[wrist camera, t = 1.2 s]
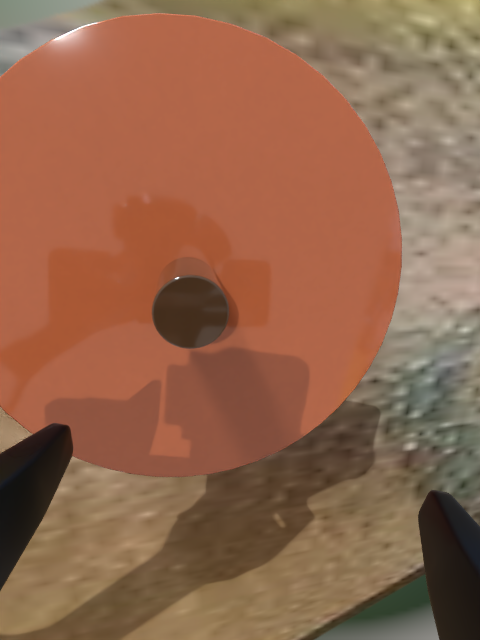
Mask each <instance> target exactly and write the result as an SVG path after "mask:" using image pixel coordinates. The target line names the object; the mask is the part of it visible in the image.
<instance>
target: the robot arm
mask: <svg viewBox="0 0 480 640" xmlns="http://www.w3.org/2000/svg"><path fill="white" fill-rule="evenodd" d="M72 454H73V441H72V435H71V429H70V427H69V426H68V425H65V424H59V423H52V424H50V425H48V426H46V427H45V428H43V429H41V430H40V431H38V432H36V433H34V434H33V435H31V436H29V437H28V438H26V439H24V440H23V441H21V442H19V443H18V444H16V445H14V446H12V447H11V448H9V449H7V450H6V451H4V452H2V453H1V454H0V590H1V589H2V587H3V585H4V584H5V582H6V580H7V579H8V577H9V575H10V573H11V572H12V570H13V568H14V567H15V565H16V563H17V562H18V560H19V558H20V556H21V555H22V553H23V551H24V550H25V548H26V546H27V545H28V543H29V541H30V539H31V538H32V536H33V534H34V533H35V531H36V529H37V528H38V526H39V524H40V522H41V521H42V519H43V517H44V515H45V513H46V511H47V509H48V507H49V505H50V503H51V501H52V499H53V496H54V494H55V492H56V490H57V488H58V486H59V483H60V481H61V479H62V477H63V475H64V473H65V470H66V468H67V466H68V464H69V462H70V459H71V457H72ZM418 522H419V529H420V537H421V544H422V552H423V559H424V567H425V574H426V581H427V586H428V593H429V597H430V602H431V606H432V610H433V614H434V619H435V623H436V627H437V631H438V635H439V639H440V640H480V526H479V525H478V524H477V523H476V522H475V521H474V520H473V518H472V517H471V516H470V515H469V514H468V513H467V512H466V511H465V510H464V508H463V507H462V506H461V505H460V504H459V503H458V502H457V501H456V500H455V498H454V497H453V496H452V495H450V494H449V493H447V492H442V491H436V490H431V491H430V492H429V493H428V495H427V497H426V499H425V501H424V503H423V505H422V507H421V509H420V511H419V515H418Z"/></svg>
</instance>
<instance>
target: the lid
mask: <svg viewBox="0 0 480 640" xmlns="http://www.w3.org/2000/svg"><path fill="white" fill-rule="evenodd" d="M401 267H402V236H401V227H400V219H399V210H398V206H397V202H396V198H395V194H394V190H393V186H392V182H391V179H390V176H389V174H388V171H387V169H386V166H385V163H384V161H383V158H382V156H381V153H380V151H379V149H378V148H377V146H376V144H375V142H374V140H373V139H372V137H371V135H370V133H369V131H368V129H367V128H366V126H365V124H364V123H363V122H362V120H361V119H360V118H359V116H358V115H357V113H356V112H355V111H354V109H353V108H352V107H351V105H350V104H349V103H348V101H347V100H346V99H345V98H344V97H343V96H342V95H341V94H340V93H339V92H338V90H337V89H336V88H335V87H334V86H333V85H332V84H331V83H330V82H329V81H328V80H327V79H326V78H325V77H324V76H323V75H322V74H320V73H319V72H318V71H317V70H315V69H314V68H313V67H311V66H310V65H309V64H307V63H306V62H305V61H304V60H302V59H301V58H300V57H298V56H297V55H296V54H294V53H292V52H291V51H289V50H287V49H285V48H284V47H282V46H280V45H278V44H277V43H275V42H273V41H271V40H270V39H268V38H266V37H264V36H261V35H259V34H256V33H254V32H251V31H249V30H246V29H243V28H241V27H238V26H236V25H233V24H230V23H226V22H221V21H217V20H212V19H208V18H203V17H199V16H192V15H177V14H163V13H155V14H143V15H132V16H121V17H117V18H113V19H109V20H105V21H101V22H97V23H93V24H89V25H85V26H83V27H80V28H78V29H76V30H73V31H71V32H68V33H66V34H64V35H61V36H59V37H57V38H54V39H52V40H50V41H49V42H47V43H45V44H44V45H42V46H41V47H39V48H37V49H36V50H34V51H33V52H31V53H30V54H28V55H26V56H25V57H23V58H22V59H20V60H19V61H18V62H17V63H15V64H14V65H13V66H12V67H11V68H10V69H9V70H8V71H6V72H5V73H4V74H3V75H2V76H1V77H0V407H1V408H2V409H3V410H4V411H5V412H6V413H7V414H8V415H10V416H11V417H12V418H13V419H15V420H16V421H17V422H18V423H20V424H21V425H22V426H23V427H24V428H26V429H27V430H28V431H29V432H31V433H33V434H34V433H36V432H38V431H40V430H41V429H43V428H45V427H46V426H48V425H50V424H52V423H59V424H65V425H68V426H69V427H70V429H71V435H72V441H73V454H72V456H74V457H76V458H78V459H81V460H84V461H86V462H89V463H92V464H95V465H98V466H101V467H104V468H108V469H112V470H116V471H121V472H125V473H130V474H137V475H146V476H155V477H186V476H196V475H206V474H212V473H217V472H221V471H226V470H231V469H235V468H238V467H241V466H244V465H247V464H250V463H253V462H256V461H258V460H261V459H263V458H265V457H267V456H270V455H272V454H274V453H276V452H278V451H280V450H282V449H284V448H286V447H287V446H289V445H291V444H292V443H294V442H296V441H297V440H299V439H301V438H302V437H304V436H305V435H306V434H308V433H309V432H310V431H312V430H313V429H314V428H316V427H317V426H318V425H320V424H321V423H322V422H323V421H324V420H325V419H326V418H327V417H329V416H330V415H331V414H332V413H333V412H334V411H335V410H336V409H337V408H338V407H339V406H340V405H341V404H342V403H343V402H344V400H345V399H346V398H347V397H348V396H349V395H350V393H351V392H352V391H353V390H354V389H355V388H356V386H357V385H358V383H359V382H360V380H361V379H362V377H363V376H364V375H365V373H366V372H367V370H368V369H369V367H370V365H371V364H372V362H373V360H374V358H375V356H376V354H377V352H378V350H379V348H380V346H381V345H382V342H383V340H384V337H385V335H386V332H387V329H388V327H389V324H390V322H391V319H392V315H393V311H394V307H395V303H396V299H397V295H398V289H399V282H400V274H401Z"/></svg>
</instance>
